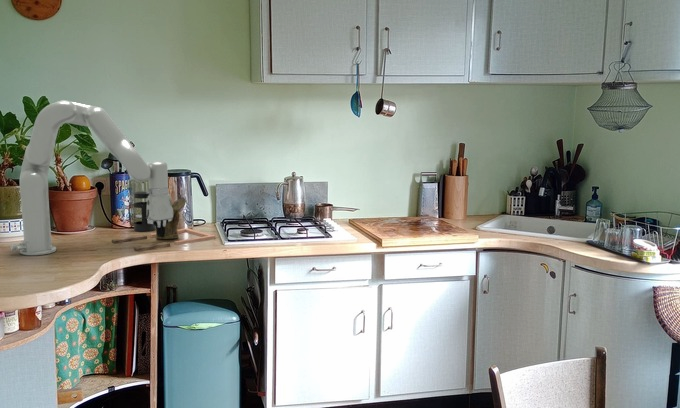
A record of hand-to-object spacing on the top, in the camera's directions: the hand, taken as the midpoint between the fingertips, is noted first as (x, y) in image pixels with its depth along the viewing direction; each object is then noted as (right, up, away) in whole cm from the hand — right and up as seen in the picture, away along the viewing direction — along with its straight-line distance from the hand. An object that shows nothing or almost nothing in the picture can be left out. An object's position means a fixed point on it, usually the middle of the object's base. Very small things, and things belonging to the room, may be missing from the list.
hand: (160, 236), depth 280 cm
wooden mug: (+3, -1, +4) cm, 5 cm away
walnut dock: (-7, -3, -5) cm, 9 cm away
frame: (+6, -1, +7) cm, 10 cm away
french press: (-14, +1, +24) cm, 27 cm away
